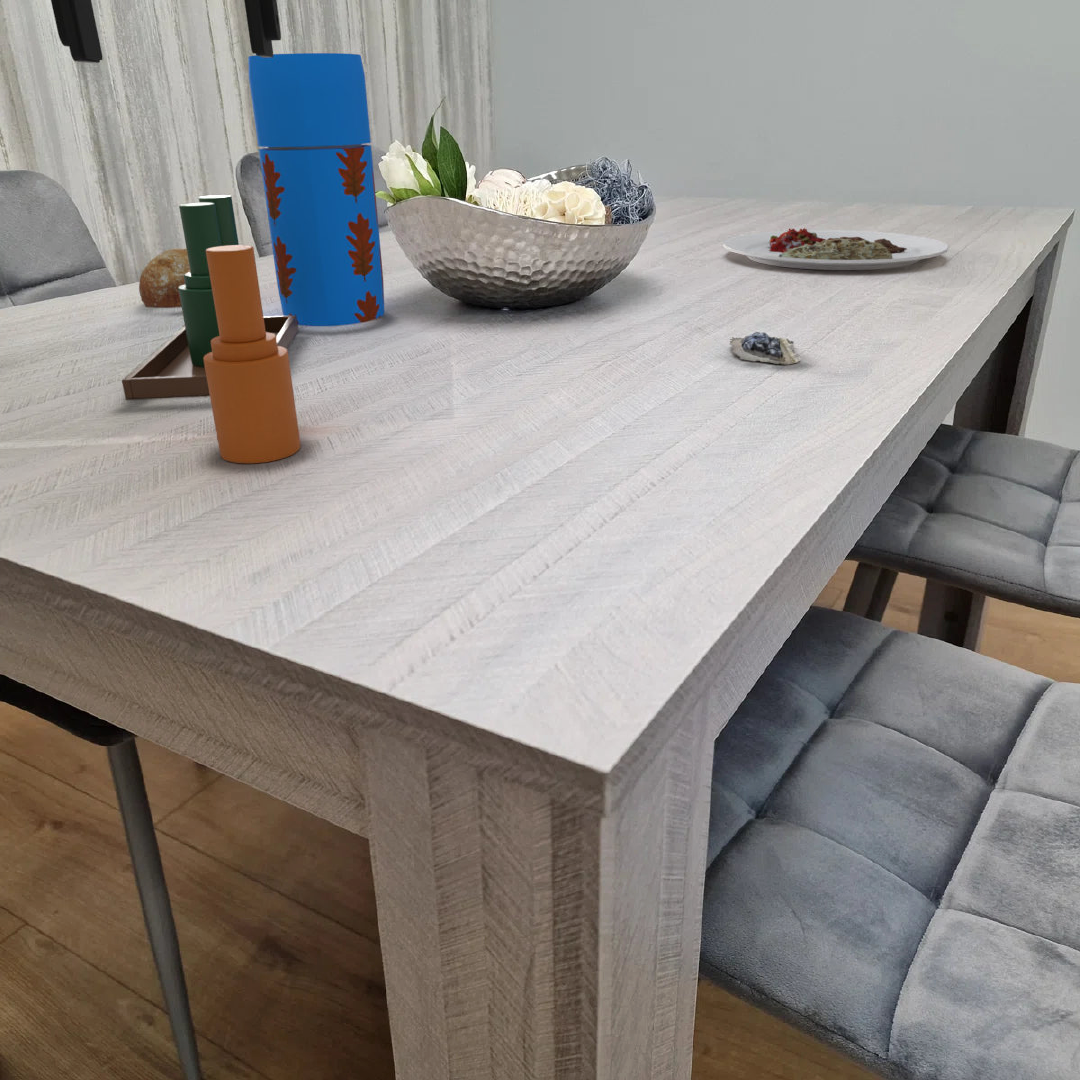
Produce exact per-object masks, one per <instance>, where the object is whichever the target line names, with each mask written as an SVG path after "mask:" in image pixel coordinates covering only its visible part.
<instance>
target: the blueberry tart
mask: <svg viewBox="0 0 1080 1080" xmlns="http://www.w3.org/2000/svg"><path fill="white" fill-rule="evenodd" d="M729 345H730V346H732V347H730V349H731V350H732V353H733V354H735V355H737V357H739V359H740V360H744V361H750V362H756V361H758V362H759V361H760V362H761V363H762V362H763V363H768V364H769V363H772V364H776V365H780V364H781V365H783V366H784V365H785V366H787V365H792V364H793V365H794V364H797V363H798V362H800V361H801V359H802V358H801V357H800V356H799V355H800V354H799V353H794V351H793V350H798V348H797V347H796V346H797V345H798V343H796V344H794V341H793V340H790V339H788V338H784V337H777V336H769V335H768V334H767V333H766V332H763V331H762V332H759V331H755V332H753V333H751V334H749V335H746V336H744V338H743V337H731V338H729Z"/></svg>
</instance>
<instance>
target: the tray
mask: <svg viewBox="0 0 1080 1080" xmlns="http://www.w3.org/2000/svg"><path fill="white" fill-rule="evenodd" d="M263 317H264V324H265V331H266V332H269V333H273V334H275V335H276V339H277V346H281V347H284V348H286V349H287V350H288V349H289V347H290V346H291V344H292V342H293V341H294V339H295V337H296V336H297V334H298V333H299V325H298V324H297V317H296V315H291V316H283V315H269V316H268V315H267V316H266V315H265V316H263ZM121 383H122V389H123V393H124V397H125V401H129V400H131V401H132V400H150V399H151V400H152V399H153V400H155V399H170V398H171V399H172V398H194V397H196V398H197V397H210V394H209V388H208V382H207V377H206V371H205V367H198V366H195V365H193V364H192V362H191V356H190V351H189V345H188V340H187V334H186V329H185V324H184V325H182V327H180V328H179V329H178V330H177V331H176V332H174V334H172V335H171V336H170V337H168V339H167V340H166V341H165V342H163V343H162V344H161V345H160V346H158V347H157V348H156V349H155V350H154V351H153V352H152V353H151V354H150V355H149V356H147V357H146V358H145V359H144V360H143V361H142V362H141V363H140V364H138V365H137V366H136V367H135V368H133V370H132V371H131V372H129V373H128V374H127V375H126V376H125V377H123V378H122V379H121Z"/></svg>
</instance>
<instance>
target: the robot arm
mask: <svg viewBox="0 0 1080 1080" xmlns="http://www.w3.org/2000/svg"><path fill="white" fill-rule="evenodd" d="M243 1H244V9H245V16H246V23H247V28H248V30H247V31H248V37H249V43H250V50H251V53H252V54H253V55H257V56H260V57H263V58H271V57H273V54H274V49H273V42H272V41H281V40H282V31H281V23H280V16H279V7H278V0H243ZM50 2H51V8H52V13H53V16H54V21H55V26H56V31H57V35H58V38H59V41H60V42H61V43H60V44H62V46H63V47H67V48H69V52H70V55H71V58H72V60H73V61H74V62H77V63H78V62H80V63H84V64H85V63H86V64H99V63H100V62H101V61H103V58H104V57H103V52H102V46H101V42H100V37H99V32H98V26H97V23H96V18H95V12H94V7H93V2H92V0H50Z"/></svg>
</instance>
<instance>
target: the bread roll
mask: <svg viewBox="0 0 1080 1080" xmlns="http://www.w3.org/2000/svg"><path fill="white" fill-rule="evenodd" d="M189 272H190V266H189V260H188V255H187V249H186V248H176V247H175V248H170V249H167V250H164V251H163V252H160V253H159V254H157V255H156V256H155V257H153V258H152V259H151V260H149V262H148V263H147V264H146V265H145V267H144V268H143V269H142V271H141V275H140V278H139V284H138V292H139V296H140V300H141V302H142V304H144V306H145V308H159V309H161V308H162V309H163V308H166V309H168V308H170V309H171V308H182V307H181V301H180V295H179V290H178V288H179V286H181V285H184V284H185V281H184V274H186V273H189Z"/></svg>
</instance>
